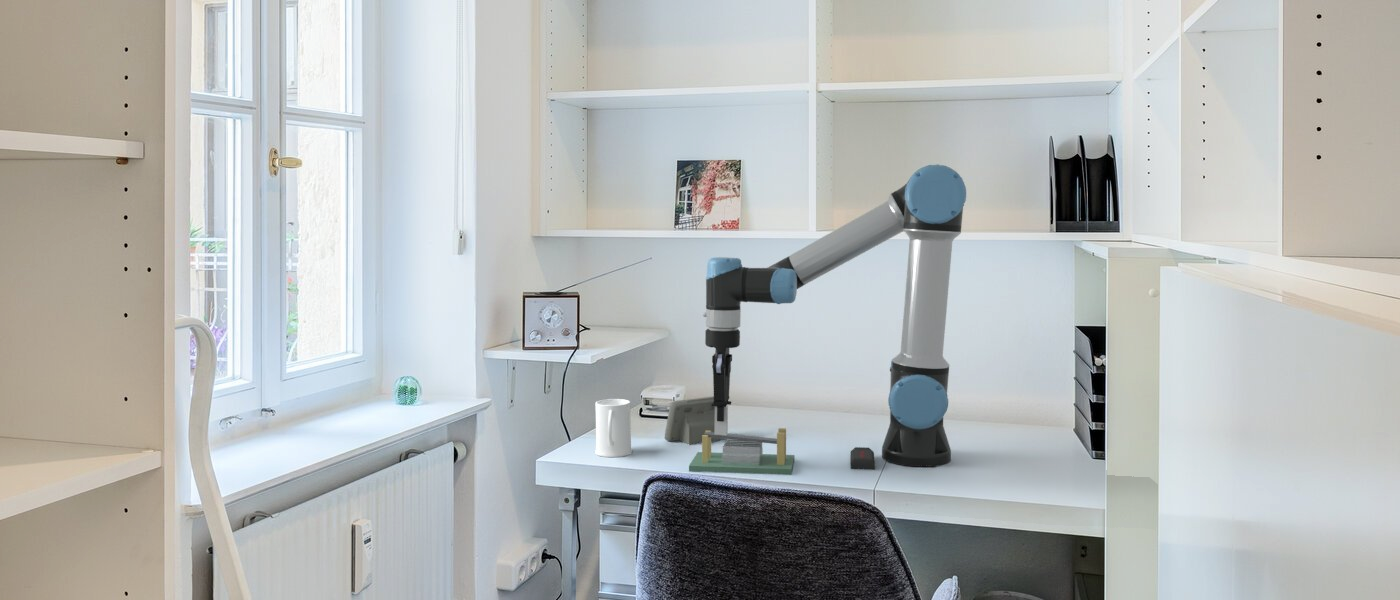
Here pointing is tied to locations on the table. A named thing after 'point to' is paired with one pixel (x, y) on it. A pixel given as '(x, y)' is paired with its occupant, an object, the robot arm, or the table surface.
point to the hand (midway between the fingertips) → (720, 434)
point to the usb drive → (862, 458)
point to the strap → (743, 438)
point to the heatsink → (742, 452)
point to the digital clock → (690, 420)
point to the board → (768, 465)
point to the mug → (613, 428)
